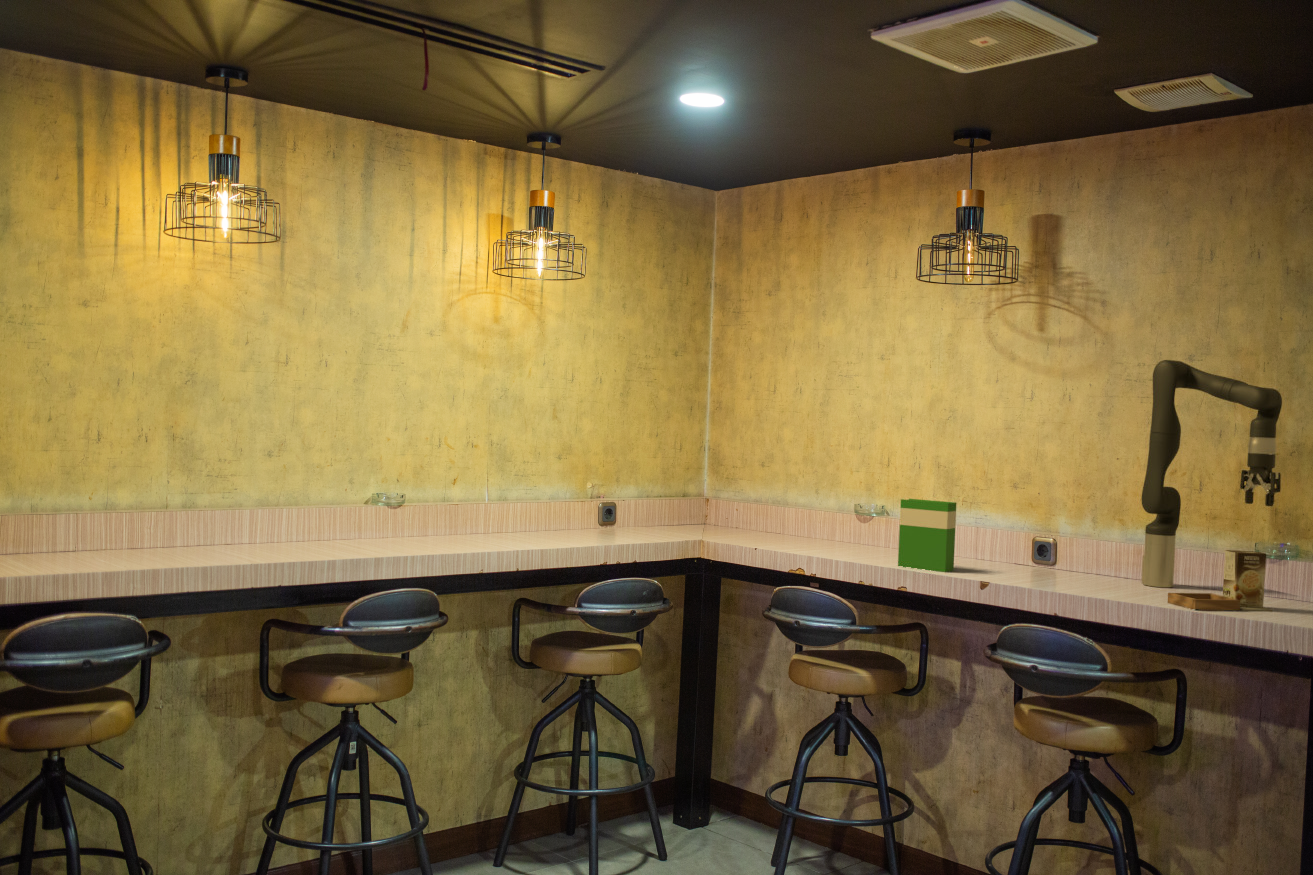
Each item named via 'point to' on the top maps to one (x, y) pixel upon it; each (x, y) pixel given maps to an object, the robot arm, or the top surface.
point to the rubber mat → (1255, 609)
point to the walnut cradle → (1203, 601)
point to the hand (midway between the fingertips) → (1259, 504)
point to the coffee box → (1244, 577)
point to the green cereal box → (927, 535)
